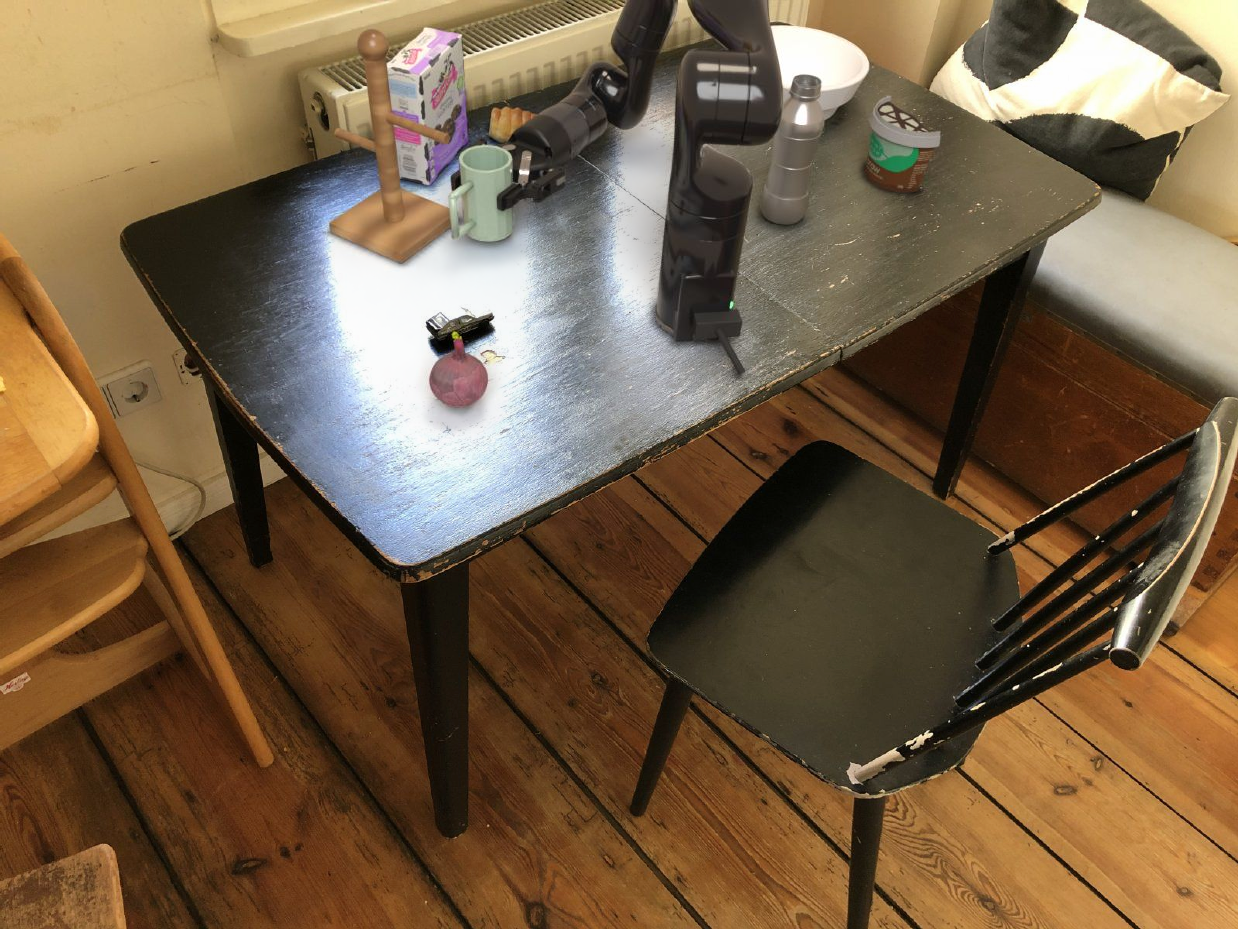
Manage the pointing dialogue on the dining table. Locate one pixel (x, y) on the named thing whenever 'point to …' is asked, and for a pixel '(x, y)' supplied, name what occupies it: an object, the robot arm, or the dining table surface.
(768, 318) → the dining table surface
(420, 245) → the mug tree
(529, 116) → the pastry
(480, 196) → the mug
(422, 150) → the candy box
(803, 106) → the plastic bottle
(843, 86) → the bowl
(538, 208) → the dining table surface
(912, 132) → the food container
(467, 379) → the vegetable
